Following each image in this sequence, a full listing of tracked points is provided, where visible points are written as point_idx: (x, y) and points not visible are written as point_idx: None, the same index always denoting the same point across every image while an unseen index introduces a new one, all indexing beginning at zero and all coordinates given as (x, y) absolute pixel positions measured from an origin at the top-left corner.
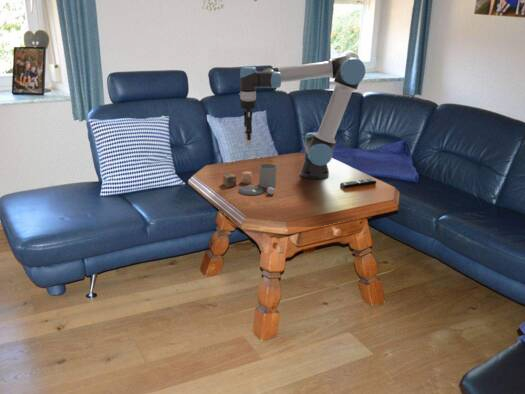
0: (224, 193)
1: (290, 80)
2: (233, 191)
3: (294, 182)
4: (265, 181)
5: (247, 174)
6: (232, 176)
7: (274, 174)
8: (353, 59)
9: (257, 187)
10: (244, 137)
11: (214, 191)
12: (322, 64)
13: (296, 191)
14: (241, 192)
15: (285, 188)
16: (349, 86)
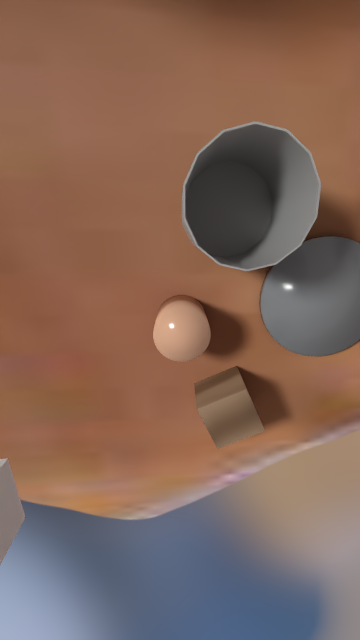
0: (335, 407)
1: None
2: (313, 374)
3: (176, 24)
4: (278, 223)
5: (210, 332)
6: (245, 406)
7: (277, 155)
8: None
9: (293, 267)
10: (7, 546)
11: (306, 444)
12: None
13: (350, 24)
14: (353, 342)
15: (289, 100)
16: None
